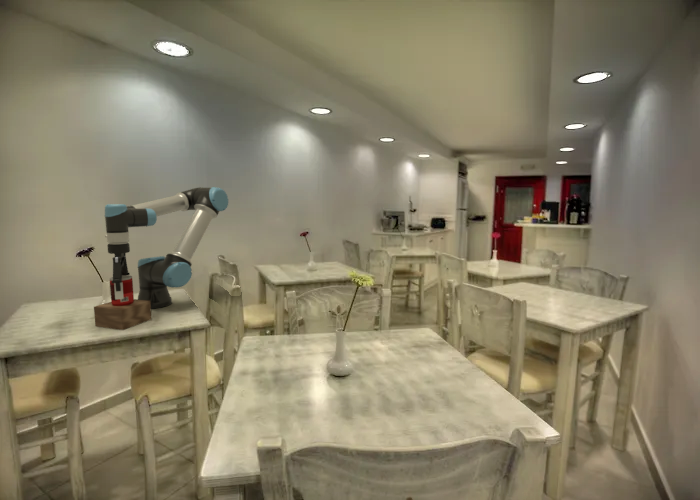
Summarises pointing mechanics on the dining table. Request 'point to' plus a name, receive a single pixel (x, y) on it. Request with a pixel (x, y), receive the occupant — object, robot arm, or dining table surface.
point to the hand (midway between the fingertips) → (122, 294)
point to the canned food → (127, 291)
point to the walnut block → (122, 314)
